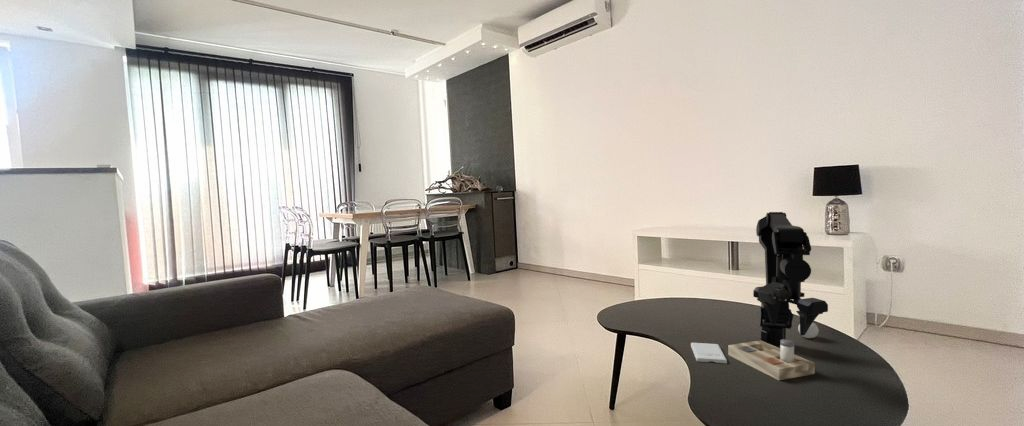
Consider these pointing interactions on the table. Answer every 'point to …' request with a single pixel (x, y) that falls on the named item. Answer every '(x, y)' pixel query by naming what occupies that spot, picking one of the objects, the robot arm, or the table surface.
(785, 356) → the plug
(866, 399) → the table surface
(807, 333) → the white egg
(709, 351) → the external hard drive
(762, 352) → the socket block
